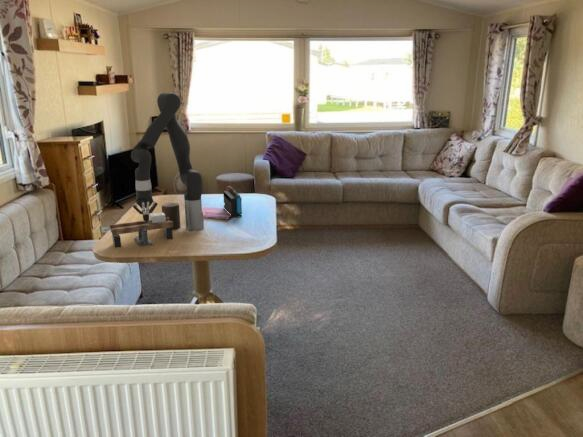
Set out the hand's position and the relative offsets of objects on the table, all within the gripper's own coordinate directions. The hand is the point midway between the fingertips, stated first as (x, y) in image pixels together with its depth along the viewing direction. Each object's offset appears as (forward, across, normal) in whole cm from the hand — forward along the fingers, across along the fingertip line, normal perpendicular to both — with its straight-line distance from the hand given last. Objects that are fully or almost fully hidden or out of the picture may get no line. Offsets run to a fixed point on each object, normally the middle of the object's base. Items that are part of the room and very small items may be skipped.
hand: (146, 221), depth 241 cm
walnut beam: (+3, +2, 0) cm, 4 cm away
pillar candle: (+11, -17, -16) cm, 26 cm away
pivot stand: (+11, +2, 0) cm, 11 cm away
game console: (+10, -58, -28) cm, 66 cm away
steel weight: (+2, -6, 0) cm, 6 cm away
